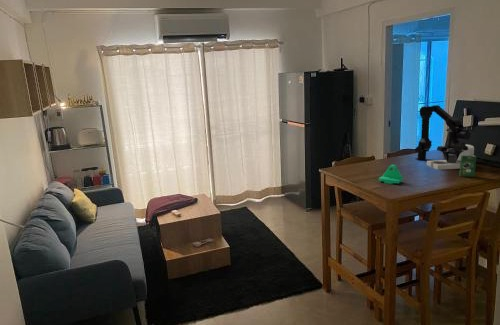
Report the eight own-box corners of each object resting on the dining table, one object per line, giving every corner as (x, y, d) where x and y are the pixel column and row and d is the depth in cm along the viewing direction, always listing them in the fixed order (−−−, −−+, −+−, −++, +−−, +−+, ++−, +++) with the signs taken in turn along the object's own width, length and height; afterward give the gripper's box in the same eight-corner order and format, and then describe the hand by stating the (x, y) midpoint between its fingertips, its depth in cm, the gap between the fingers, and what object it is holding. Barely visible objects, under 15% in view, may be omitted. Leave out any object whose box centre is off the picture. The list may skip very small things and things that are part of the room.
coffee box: (473, 175, 231) (475, 155, 228) (474, 177, 228) (476, 156, 225) (458, 175, 232) (460, 155, 230) (460, 176, 230) (462, 156, 227)
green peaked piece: (378, 182, 226) (378, 165, 223) (383, 179, 231) (383, 163, 229) (398, 185, 218) (399, 168, 216) (402, 182, 223) (403, 165, 221)
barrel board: (426, 165, 262) (426, 160, 261) (451, 163, 263) (451, 159, 262) (437, 169, 248) (437, 165, 248) (463, 168, 249) (464, 164, 248)
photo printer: (456, 160, 271) (457, 144, 268) (458, 159, 273) (460, 143, 271) (471, 162, 263) (473, 145, 260) (474, 161, 265) (475, 144, 263)
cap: (444, 161, 258) (445, 154, 257) (453, 160, 258) (453, 153, 257) (449, 163, 252) (450, 156, 251) (458, 162, 252) (458, 155, 251)
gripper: (446, 140, 243) (444, 163, 247) (474, 139, 244) (472, 162, 247) (437, 138, 254) (435, 160, 257) (463, 136, 255) (461, 159, 258)
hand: (451, 160), depth 255 cm, fingers closed on cap, 6 cm apart
